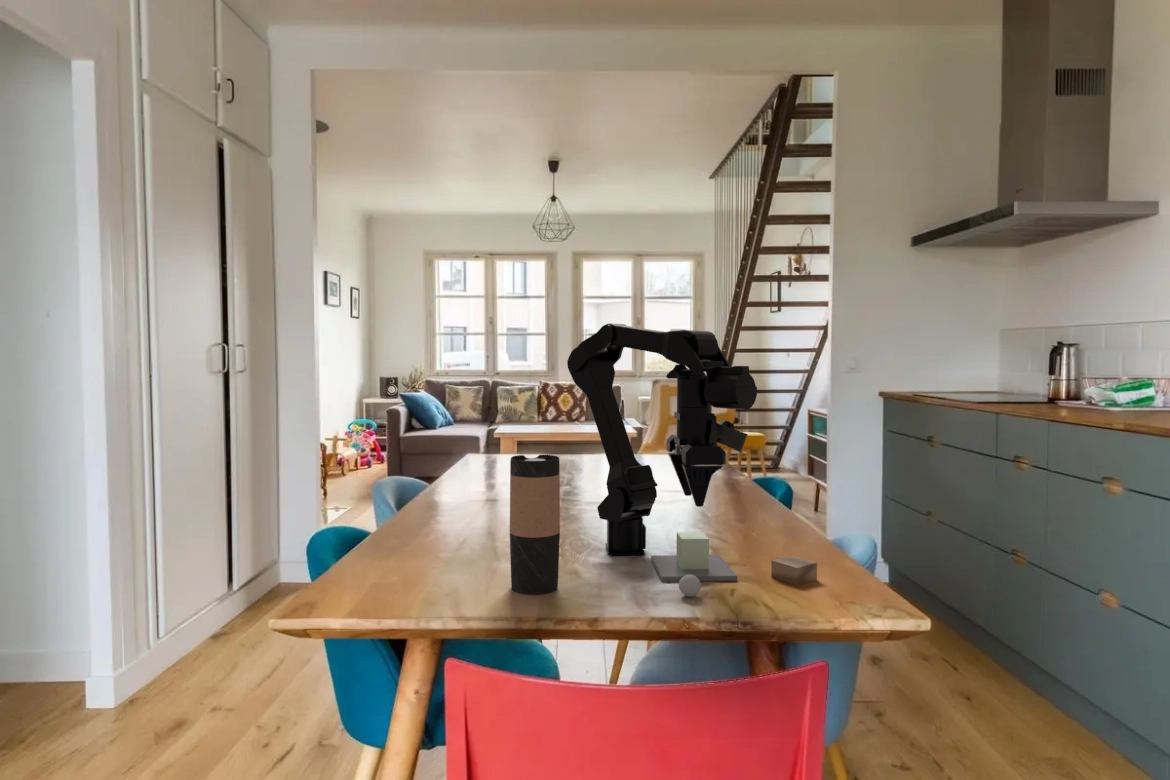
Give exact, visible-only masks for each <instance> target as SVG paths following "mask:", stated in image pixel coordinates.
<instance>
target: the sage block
mask: <svg viewBox="0 0 1170 780" xmlns="http://www.w3.org/2000/svg"><path fill="white" fill-rule="evenodd" d="M675 555H676V562H677V563H678V565H679V566H680V568H681V569H709V555H710V538H709V537H708V535H706V534H705V533H704V532H703V531H700V532H699V531H683V532H682V531H680V532H679V531H677V532H676V554H675Z"/></svg>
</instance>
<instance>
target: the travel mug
mask: <svg viewBox="0 0 1170 780" xmlns="http://www.w3.org/2000/svg"><path fill="white" fill-rule="evenodd" d="M509 466H510V467H509V468H510V473H509V474H510V478H509V479H510V483H509V551H510V553H509V554H510V559H509V560H510V582H511V589H512V591H514V592H516V593H518V594H521V595H535V596H536V595H537V596H538V595H545V594H549V593H552V592H555V591H556V590H557V589H558V585H559V565H560V542H561V540H560V539H561V538H560V536H561V533H560V532H561V525H560V524H561V512H560V511H561V509H560V508H561V507H560V505H561V504H560V503H561V502H560V501H561V497H560V496H561V495H560V494H561V493H560V491H561V490H560V487H561V485H560V481H561V480H560V475H561V474H560V472H561V471H560V456H557V455H553V454H538V456H537V457H526V456H525V455H523V454H519V455H518V454H517V455H513V456H511V457H510V465H509Z"/></svg>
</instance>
